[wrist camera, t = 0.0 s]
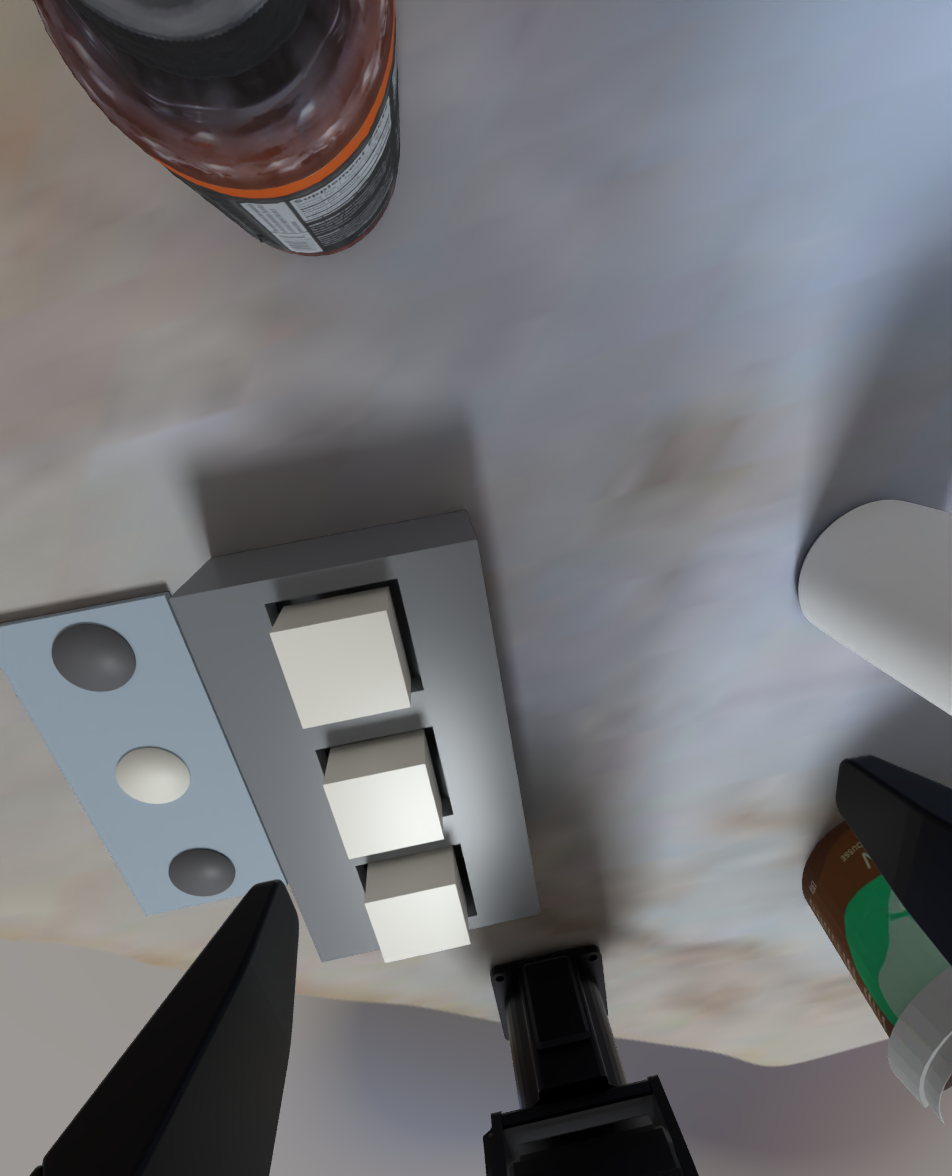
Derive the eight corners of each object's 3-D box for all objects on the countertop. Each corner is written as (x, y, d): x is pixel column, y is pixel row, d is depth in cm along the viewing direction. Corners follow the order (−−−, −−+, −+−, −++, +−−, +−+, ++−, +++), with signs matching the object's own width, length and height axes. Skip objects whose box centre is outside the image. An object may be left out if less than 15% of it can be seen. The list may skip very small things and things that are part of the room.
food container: (944, 743, 29) (1190, 917, 20) (975, 809, 31) (1210, 992, 22) (744, 863, 31) (886, 1074, 22) (787, 917, 33) (932, 1129, 24)
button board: (524, 843, 28) (541, 914, 25) (333, 884, 28) (321, 962, 24) (465, 509, 22) (477, 539, 18) (211, 557, 21) (168, 598, 17)
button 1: (410, 675, 20) (410, 707, 18) (312, 695, 20) (303, 728, 18) (388, 586, 19) (386, 610, 17) (283, 606, 18) (269, 633, 17)
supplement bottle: (155, 90, 16) (-333, -438, 5) (332, -24, 15) (169, -839, 5) (277, 297, 18) (99, 206, 8) (435, 204, 18) (471, -28, 7)
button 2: (466, 901, 25) (470, 944, 23) (387, 918, 25) (385, 963, 23) (451, 842, 23) (455, 883, 21) (368, 860, 23) (364, 903, 21)
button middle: (441, 800, 22) (444, 838, 20) (353, 818, 22) (349, 859, 20) (423, 728, 21) (424, 763, 19) (330, 748, 21) (322, 784, 19)
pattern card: (289, 878, 28) (286, 887, 27) (149, 908, 27) (145, 917, 27) (168, 591, 21) (163, 596, 21) (-13, 626, 21) (-23, 631, 21)
